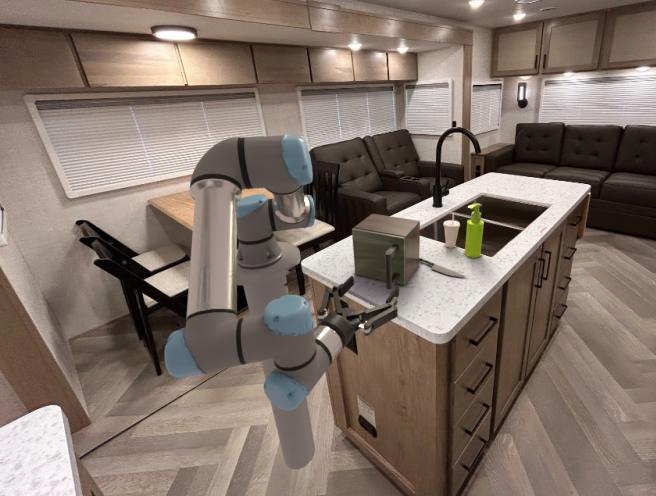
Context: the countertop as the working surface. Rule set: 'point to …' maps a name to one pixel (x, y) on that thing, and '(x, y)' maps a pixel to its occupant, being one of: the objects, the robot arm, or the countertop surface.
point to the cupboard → (398, 228)
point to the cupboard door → (379, 256)
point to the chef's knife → (442, 269)
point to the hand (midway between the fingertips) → (374, 285)
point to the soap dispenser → (474, 233)
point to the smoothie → (451, 232)
